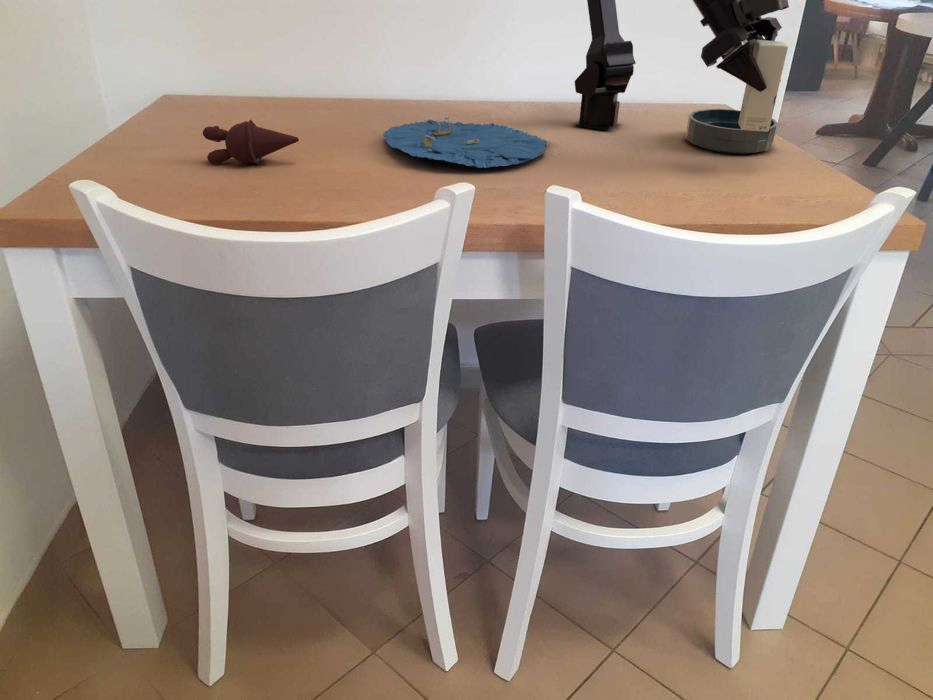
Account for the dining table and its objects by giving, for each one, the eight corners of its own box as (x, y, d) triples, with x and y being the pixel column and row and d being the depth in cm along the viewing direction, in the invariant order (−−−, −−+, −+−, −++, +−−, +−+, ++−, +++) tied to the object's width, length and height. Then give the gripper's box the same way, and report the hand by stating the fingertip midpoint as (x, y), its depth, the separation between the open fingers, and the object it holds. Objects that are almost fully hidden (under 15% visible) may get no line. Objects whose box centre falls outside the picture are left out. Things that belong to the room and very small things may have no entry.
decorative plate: (443, 124, 147) (443, 96, 145) (576, 149, 133) (579, 119, 130) (339, 150, 126) (338, 119, 123) (484, 184, 111) (486, 149, 109)
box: (769, 133, 116) (790, 46, 110) (740, 130, 117) (759, 44, 110) (764, 124, 121) (784, 40, 114) (736, 122, 121) (754, 38, 115)
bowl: (676, 148, 132) (681, 122, 129) (694, 128, 143) (698, 105, 141) (765, 161, 126) (771, 134, 124) (776, 140, 138) (782, 115, 136)
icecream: (300, 116, 120) (208, 123, 120) (290, 115, 113) (193, 123, 113) (306, 160, 122) (215, 167, 122) (297, 162, 115) (201, 169, 115)
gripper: (739, -34, 102) (799, 61, 102) (783, -40, 115) (836, 45, 115) (676, 21, 111) (731, 109, 111) (724, 10, 123) (773, 89, 123)
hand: (770, 86), depth 115 cm, fingers closed on box, 6 cm apart
